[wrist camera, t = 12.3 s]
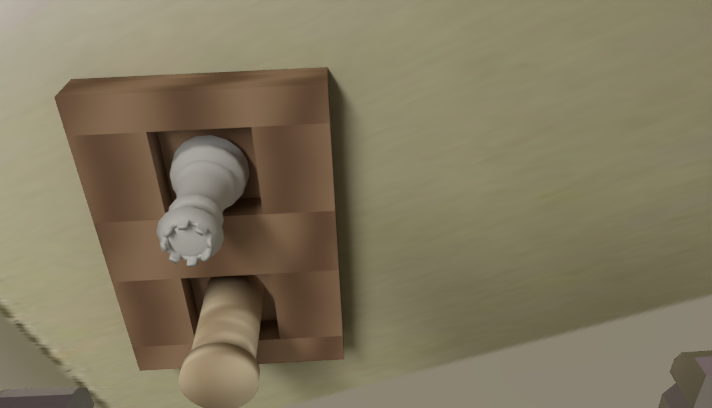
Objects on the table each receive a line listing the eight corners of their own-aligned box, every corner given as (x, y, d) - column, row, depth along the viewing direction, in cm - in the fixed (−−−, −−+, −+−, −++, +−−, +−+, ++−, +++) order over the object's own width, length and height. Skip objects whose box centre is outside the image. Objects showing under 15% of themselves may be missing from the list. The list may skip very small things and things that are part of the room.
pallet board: (327, 67, 34) (328, 136, 27) (343, 333, 45) (346, 434, 38) (71, 79, 34) (2, 152, 27) (148, 344, 45) (114, 447, 38)
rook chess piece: (156, 159, 36) (118, 240, 29) (213, 116, 35) (187, 190, 28) (210, 210, 38) (186, 296, 31) (266, 171, 37) (253, 252, 30)
